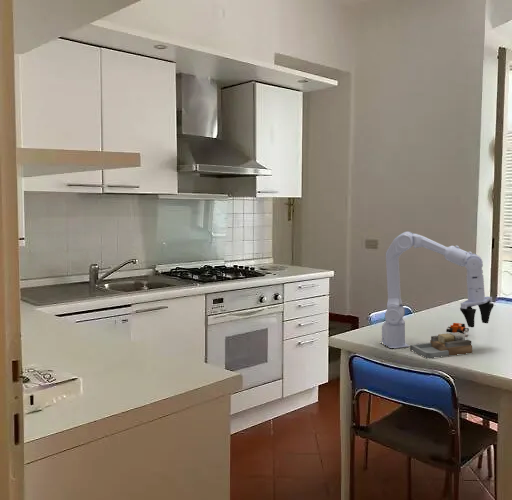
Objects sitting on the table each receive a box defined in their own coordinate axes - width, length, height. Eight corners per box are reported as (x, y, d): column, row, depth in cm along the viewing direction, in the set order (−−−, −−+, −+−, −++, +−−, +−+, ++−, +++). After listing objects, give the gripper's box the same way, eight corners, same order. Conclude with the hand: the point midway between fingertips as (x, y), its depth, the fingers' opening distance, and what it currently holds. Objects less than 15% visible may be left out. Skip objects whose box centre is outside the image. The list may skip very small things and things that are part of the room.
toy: (443, 324, 222) (451, 316, 234) (443, 339, 222) (451, 330, 235) (464, 326, 218) (471, 317, 230) (464, 341, 218) (471, 332, 231)
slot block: (430, 347, 211) (430, 336, 210) (452, 345, 213) (452, 333, 213) (448, 356, 199) (448, 344, 199) (472, 353, 201) (472, 341, 201)
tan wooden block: (438, 342, 207) (438, 334, 206) (447, 341, 208) (447, 333, 207) (444, 345, 203) (444, 337, 203) (454, 343, 204) (454, 335, 204)
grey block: (448, 341, 208) (448, 333, 208) (458, 339, 209) (458, 332, 209) (455, 343, 204) (455, 335, 204) (464, 342, 205) (464, 334, 205)
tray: (410, 350, 209) (410, 344, 208) (430, 347, 211) (430, 342, 211) (427, 359, 197) (427, 353, 197) (448, 356, 199) (448, 350, 199)
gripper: (470, 292, 195) (473, 330, 196) (498, 285, 202) (500, 322, 203) (454, 290, 201) (457, 327, 202) (482, 284, 208) (484, 320, 209)
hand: (478, 324), depth 203 cm, fingers open, 7 cm apart
